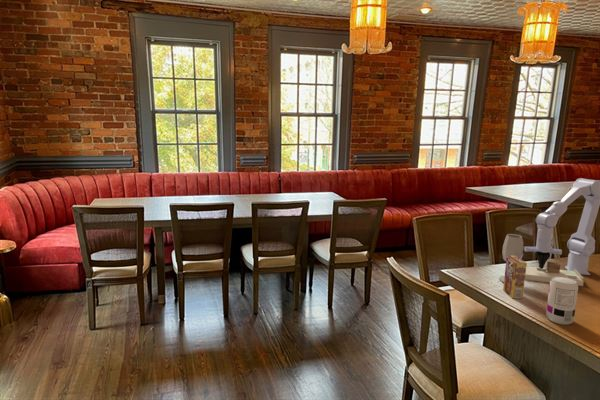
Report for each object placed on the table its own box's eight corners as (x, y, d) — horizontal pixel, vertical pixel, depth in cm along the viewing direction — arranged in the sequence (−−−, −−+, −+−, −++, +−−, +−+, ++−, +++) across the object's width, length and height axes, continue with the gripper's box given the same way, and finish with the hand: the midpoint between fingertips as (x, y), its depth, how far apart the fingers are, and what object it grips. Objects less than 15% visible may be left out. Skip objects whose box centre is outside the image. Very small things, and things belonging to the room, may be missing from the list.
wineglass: (499, 283, 172) (504, 237, 169) (498, 276, 180) (502, 232, 177) (522, 286, 169) (527, 239, 165) (519, 279, 177) (524, 234, 173)
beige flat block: (518, 270, 188) (519, 263, 187) (574, 276, 180) (575, 269, 180) (523, 279, 177) (523, 272, 176) (583, 286, 169) (584, 278, 169)
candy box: (523, 299, 157) (527, 262, 154) (512, 298, 157) (516, 262, 154) (513, 290, 165) (516, 255, 163) (502, 289, 166) (505, 255, 163)
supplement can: (540, 317, 142) (545, 277, 139) (555, 313, 145) (560, 274, 142) (563, 327, 134) (568, 286, 132) (578, 322, 138) (584, 282, 135)
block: (546, 269, 182) (547, 261, 181) (556, 270, 181) (557, 262, 180) (549, 272, 178) (550, 264, 178) (559, 273, 177) (560, 265, 177)
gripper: (527, 240, 178) (524, 268, 181) (565, 243, 173) (561, 272, 176) (524, 236, 185) (522, 263, 187) (560, 238, 180) (557, 267, 182)
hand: (541, 267), depth 182 cm, fingers closed
